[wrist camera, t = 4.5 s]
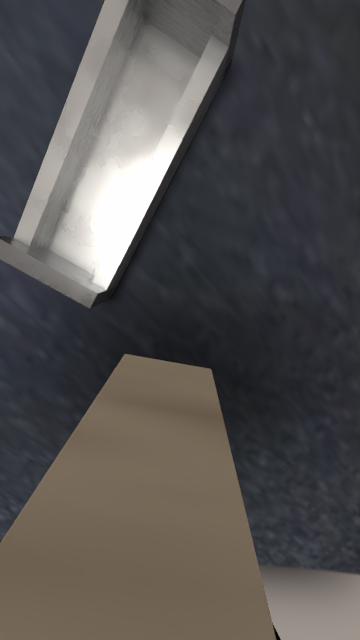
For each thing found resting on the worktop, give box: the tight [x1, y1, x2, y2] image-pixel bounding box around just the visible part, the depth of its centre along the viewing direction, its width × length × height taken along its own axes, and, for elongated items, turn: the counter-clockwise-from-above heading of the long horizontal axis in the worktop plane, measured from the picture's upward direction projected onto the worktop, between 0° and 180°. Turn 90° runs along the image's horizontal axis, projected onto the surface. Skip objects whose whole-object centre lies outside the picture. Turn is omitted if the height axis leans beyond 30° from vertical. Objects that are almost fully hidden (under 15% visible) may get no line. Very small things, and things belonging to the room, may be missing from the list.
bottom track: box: [0, 0, 246, 308], centre depth 13 cm, size 16×6×4 cm, turn 150°
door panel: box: [0, 354, 276, 640], centre depth 6 cm, size 8×3×7 cm, turn 170°
